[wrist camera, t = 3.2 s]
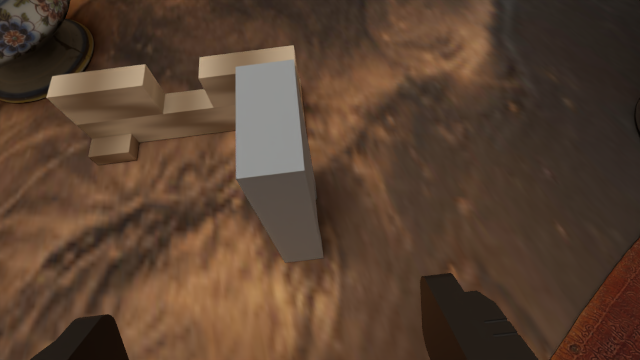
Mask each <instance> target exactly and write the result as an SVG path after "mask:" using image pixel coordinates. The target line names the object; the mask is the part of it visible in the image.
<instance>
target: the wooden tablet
mask: <svg viewBox="0 0 640 360" xmlns="http://www.w3.org/2000/svg"><path fill="white" fill-rule="evenodd" d="M550 360H640V238H639V239H638V240H637V241H636V242H635V243H634V245H633V246H632V247H631V249H629V250H628V251H627V253H626V254H625V255H624V257H623V258H622V259H621V261H620V262H619V263H618V264H617V265H616V267H615V268H614V269H613V270H612V272H611V273H610V274H609V276H608V277H607V279H606V280H605V282H604V283H603V284H602V286H601V287H600V288H599V290H598V291H597V292H596V294H595V295H594V296H593V298H592V299H591V301H590V302H589V304H588V305H587V306H586V308H585V309H584V310H583V312H582V313H581V314H580V316H579V317H578V319H577V320H576V322H575V324H574V325H573V327H572V328H571V330H570V331H569V333H568V335H567V336H566V338H565V339H564V340H563V342H562V343H561V344H560V346H559V348H558V349H557V351H556V352H555V354H554V355H553V356H552V358H551V359H550Z"/></svg>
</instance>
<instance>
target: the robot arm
mask: <svg viewBox="0 0 640 360" xmlns="http://www.w3.org/2000/svg"><path fill="white" fill-rule="evenodd" d="M635 116H636V121H637V127H638V129H639V131H640V99H639V101H638V103H637V106H636V115H635ZM420 289H421V311H422V329H423V336H424V341H425V345H426V348H427V351H428V354H429V357H430V359H431V360H538V358H537V357H536V356H535V355H534V353H533V352H532V351H531V349H530V348H529V347H528V345H527V344H526V343H525V341H524V340H523V339H522V337H521V336H520V335H518V334H517V331H516V330H515V328H514V327H513V326H512V324H511V323H510V322H509V321H507V318H506V316H505V315H504V314H503V312H502V311H501V310H500V309H499V307H498V306H497V305H496V303H495V302H493V301H492V300H490V299H489V298H487V297H486V296H484V295H483V294H481V293H480V292H478V291H470V292H464V291H463V289H462V288H461V286H460V285H459V283H458V282H457V280H456V279H455V277H454V276H453V274H451V273H447V274H439V275H430V276H422V277H421V280H420ZM30 360H129V358H128V356H127V353H126V350H125V347H124V344H123V341H122V338H121V336H120V333H119V330H118V327H117V324H116V322H115V319H114V318H113V317H112V316H111V315H108V314H107V315H99V316H90V317H82V318H77V319H75V320H74V321H73V322H72V323H71V324H70V325H69V326H68V327H67V328H66V330H65V331H64V332H63V333H62V334H61V335H60V336H59V337H58V339H57V340H56V341H54V342H53V343H52V344H50V345H49V346H47V347H46V348H45V349H43V350H42V351H41V352H39V353H38V354H37V355H35V356H34V357H33V358H31V359H30Z"/></svg>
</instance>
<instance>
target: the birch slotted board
mask: <svg viewBox="0 0 640 360" xmlns="http://www.w3.org/2000/svg"><path fill="white" fill-rule="evenodd" d="M293 59H294V64H295V69H296V75H297V81H298V87H299V92H300V98H301V104H302V110H303V115H304V106H303V96H302V87H301V81H300V77H299V75H298V69H297V63H296V57H295V51H294V45H293V46H285V47H277V48H269V49H261V50H254V51H246V52H238V53H230V54H222V55H214V56H207V57H200V62H199V80H200V82H201V84H202V86H203V88H204V89H201V90H193V91H185V92H177V93H170V94H165V93H164V92H163V90H162V88H161V87H160V85H159V84H158V82H157V81H156V79H155V78H154V76H153V75H152V73H151V72H150V70H149V69H148V67H147V66H146V64H144V65H136V66H128V67H120V68H112V69H105V70H97V71H89V72H81V73H73V74H65V75H57V76H52V79H51V83H50V86H49V90H48V93H47V97H46V98H47V99H48V100H49V101H51V102H52V103H53V104H54V105H55V106H56V107H57V108H58V109H59V110H61V111H62V112H63V113H64V114H65V115H66V116H67V117H68V118H69V119H70V120H72V121H73V122H74V123H75V124H76V125H77V126H78V127H79V128H80V129H82V130H83V131H84V132H85V133H86V134H87V135H88V136H89V137H90V138H92V141H91V146H90V151H89V155H88V157H89V158H90V159H91V160H92V161H94V162H95V163H96V164H97V165H102V164H110V163H118V162H126V161H134V160H137V156H138V148H139V142H147V141H155V140H163V139H171V138H179V137H187V136H195V135H203V134H211V133H219V132H227V131H235V130H236V67H238V66H246V65H254V64H262V63H269V62H277V61H285V60H293ZM304 121H305V115H304ZM305 127H306V124H305Z"/></svg>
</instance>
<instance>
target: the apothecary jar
mask: <svg viewBox="0 0 640 360" xmlns="http://www.w3.org/2000/svg"><path fill="white" fill-rule="evenodd" d="M69 4H70V0H0V100H1V101H5V102H10V103H23V102H31V101H36V100H39V99H42V98H45V97H47V93H48V90H49V86H50V83H51V79H52V76H57V75H65V74H73V73H81V72H83V70H84V69H85V68H86V66H87V65H88V63H89V61H90V59H91V57H92V54H93V49H94V41H93V37H92V34H91V33H90V31H89V30H88V29H87V28H86V27H85V26H84V25H83V24H81V23H79V22H77V21H74V20H71V19H65V17H66V15H67V12H68V9H69Z"/></svg>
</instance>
